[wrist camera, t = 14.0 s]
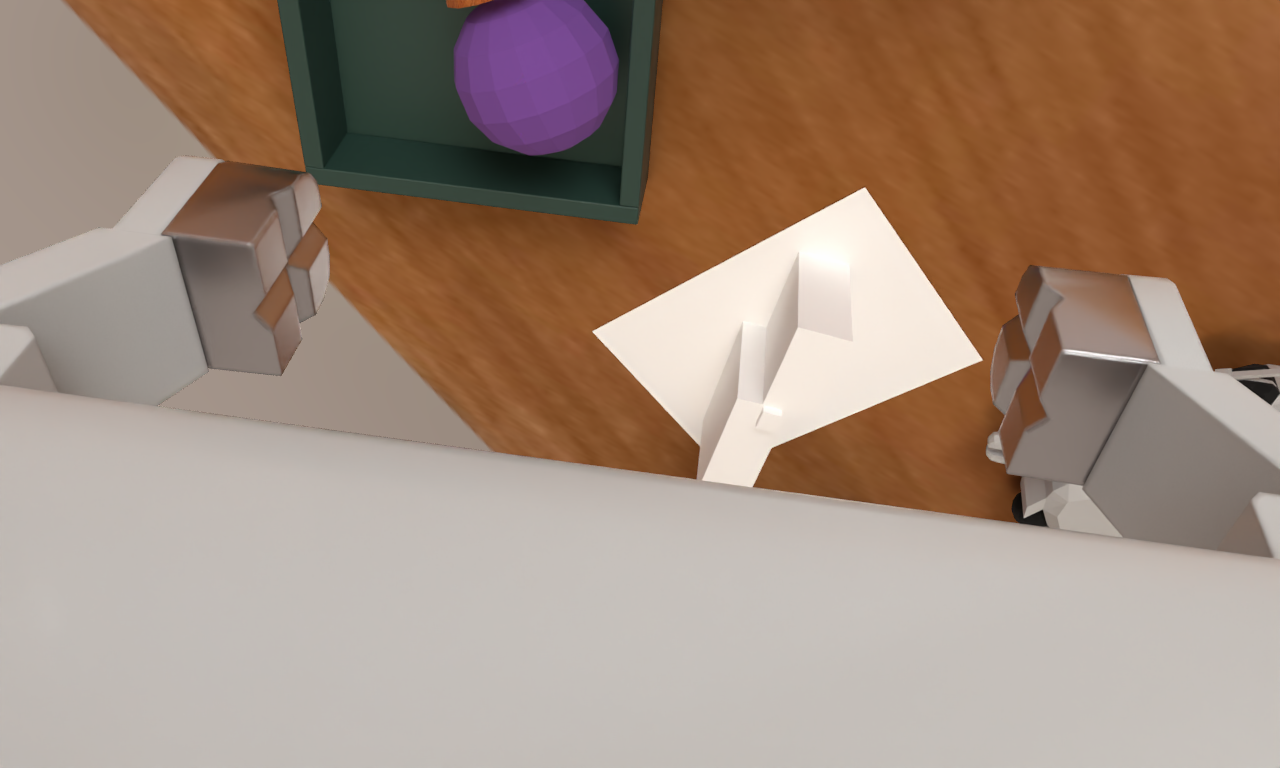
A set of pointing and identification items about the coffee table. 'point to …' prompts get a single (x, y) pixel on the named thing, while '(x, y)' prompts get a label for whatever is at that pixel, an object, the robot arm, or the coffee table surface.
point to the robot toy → (1069, 501)
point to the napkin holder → (790, 337)
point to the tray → (456, 111)
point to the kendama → (535, 72)
